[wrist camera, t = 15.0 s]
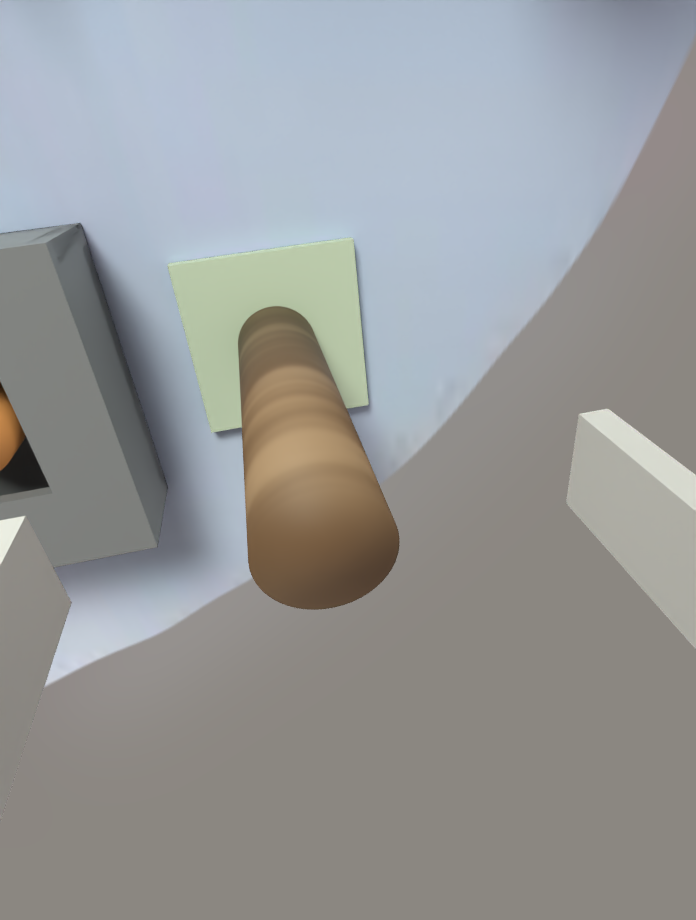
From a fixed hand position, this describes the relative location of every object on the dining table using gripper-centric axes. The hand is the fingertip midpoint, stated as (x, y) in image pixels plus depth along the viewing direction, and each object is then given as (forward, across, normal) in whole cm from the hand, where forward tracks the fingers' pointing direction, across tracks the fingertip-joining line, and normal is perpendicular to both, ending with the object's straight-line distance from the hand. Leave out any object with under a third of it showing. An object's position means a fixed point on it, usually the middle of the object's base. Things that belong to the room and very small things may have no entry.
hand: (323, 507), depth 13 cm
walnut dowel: (+14, 0, -1) cm, 14 cm away
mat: (+15, 0, -1) cm, 15 cm away
